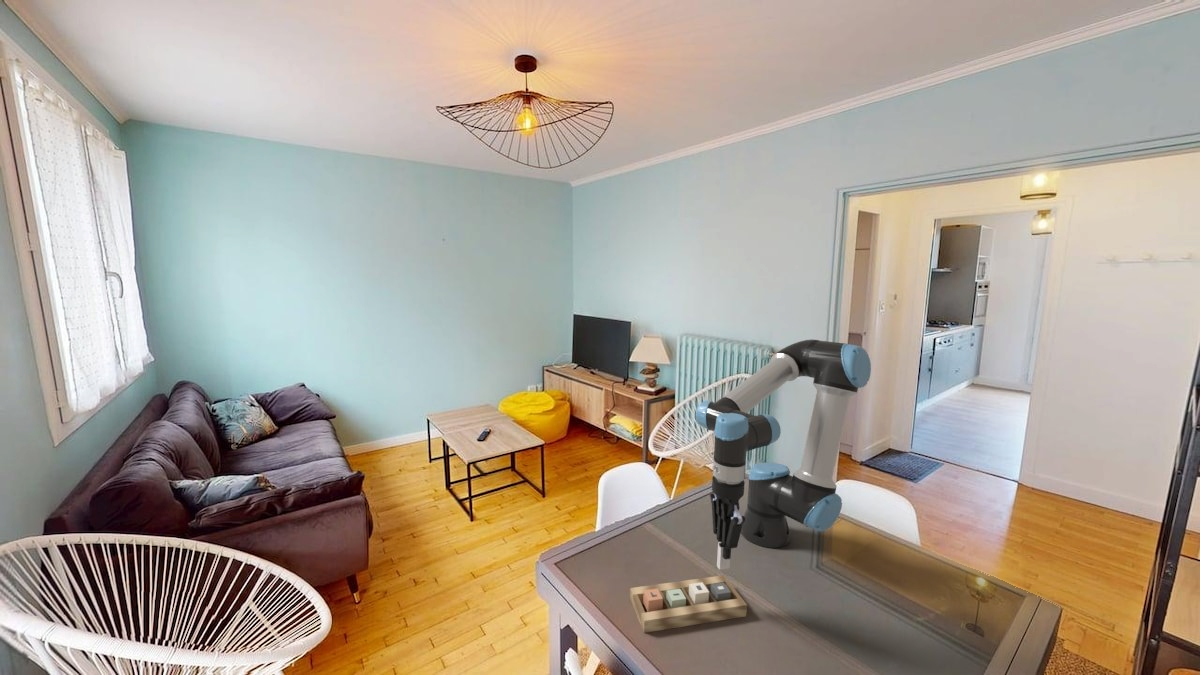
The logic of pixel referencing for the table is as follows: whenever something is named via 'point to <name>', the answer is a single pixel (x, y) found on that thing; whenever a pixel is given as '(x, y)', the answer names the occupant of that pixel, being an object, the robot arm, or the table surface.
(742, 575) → the table surface
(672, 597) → the sage key
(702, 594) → the cream key
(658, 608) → the terracotta key
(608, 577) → the table surface
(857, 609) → the table surface
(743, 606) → the keypad frame
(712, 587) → the charcoal key
